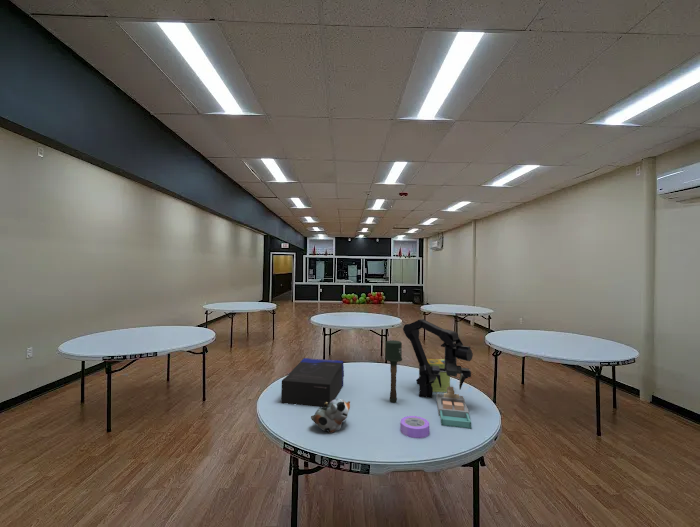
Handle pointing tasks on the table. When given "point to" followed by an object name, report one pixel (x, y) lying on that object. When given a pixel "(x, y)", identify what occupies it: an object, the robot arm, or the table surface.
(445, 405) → the tile
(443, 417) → the tray
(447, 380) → the protein box
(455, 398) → the tan stepped block
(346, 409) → the lucky cat figurine
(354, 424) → the table surface
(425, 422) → the masking tape
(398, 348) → the potato masher grenade
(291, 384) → the headphone box
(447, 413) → the board
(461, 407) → the tile
